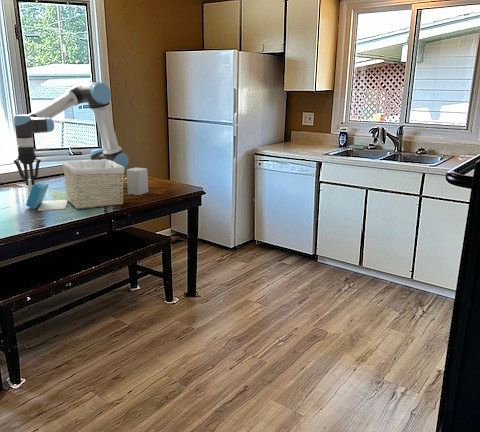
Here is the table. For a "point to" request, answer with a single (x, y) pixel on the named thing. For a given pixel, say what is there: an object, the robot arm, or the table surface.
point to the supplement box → (137, 181)
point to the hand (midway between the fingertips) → (31, 191)
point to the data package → (37, 195)
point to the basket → (93, 183)
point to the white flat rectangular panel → (53, 205)
